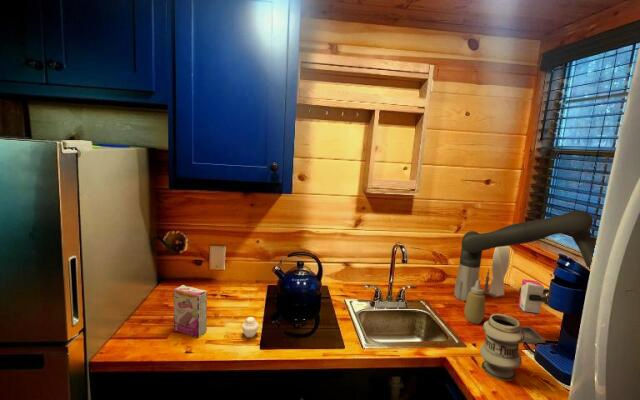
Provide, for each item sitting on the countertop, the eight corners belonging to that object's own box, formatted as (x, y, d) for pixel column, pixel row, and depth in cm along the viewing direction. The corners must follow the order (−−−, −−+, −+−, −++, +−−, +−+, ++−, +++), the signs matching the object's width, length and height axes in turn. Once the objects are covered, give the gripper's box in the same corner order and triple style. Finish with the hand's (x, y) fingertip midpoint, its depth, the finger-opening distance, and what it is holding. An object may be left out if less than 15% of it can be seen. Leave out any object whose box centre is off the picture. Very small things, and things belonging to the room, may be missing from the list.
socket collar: (517, 342, 129) (518, 338, 129) (505, 328, 139) (505, 325, 139) (544, 344, 129) (545, 340, 129) (530, 330, 139) (530, 327, 139)
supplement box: (540, 314, 129) (544, 286, 127) (523, 312, 130) (527, 284, 128) (533, 307, 135) (538, 280, 133) (517, 306, 136) (521, 278, 134)
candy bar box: (173, 331, 124) (172, 289, 122) (182, 325, 129) (182, 284, 126) (198, 338, 121) (198, 295, 118) (207, 331, 125) (207, 289, 123)
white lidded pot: (241, 340, 121) (241, 322, 120) (241, 331, 127) (242, 313, 126) (258, 339, 122) (259, 321, 121) (258, 330, 128) (258, 313, 127)
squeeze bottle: (483, 318, 147) (488, 279, 144) (483, 327, 139) (489, 285, 137) (463, 314, 150) (468, 275, 147) (462, 322, 143) (467, 281, 140)
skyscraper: (494, 289, 180) (501, 238, 175) (508, 296, 172) (515, 242, 168) (483, 291, 176) (489, 239, 172) (496, 298, 169) (504, 244, 165)
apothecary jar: (471, 359, 117) (477, 310, 114) (504, 359, 118) (511, 311, 115) (490, 383, 105) (498, 329, 102) (527, 383, 106) (536, 330, 103)
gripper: (558, 280, 137) (516, 277, 138) (583, 295, 123) (536, 292, 124) (555, 297, 138) (513, 295, 139) (580, 314, 124) (533, 311, 125)
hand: (524, 293), depth 132 cm, fingers closed on supplement box, 6 cm apart
